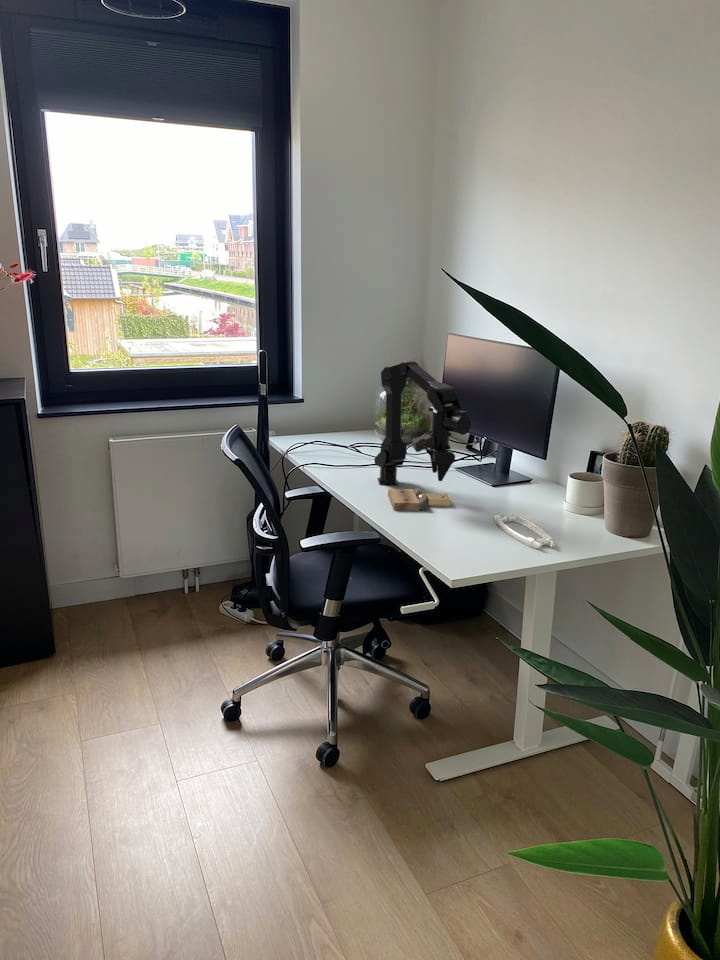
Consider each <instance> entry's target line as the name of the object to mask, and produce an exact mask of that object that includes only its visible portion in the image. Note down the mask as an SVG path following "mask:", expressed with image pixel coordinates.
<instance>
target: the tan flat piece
mask: <svg viewBox="0 0 720 960" xmlns="http://www.w3.org/2000/svg"><path fill="white" fill-rule="evenodd" d="M421 493H422V494H423V492H422V491H421V489H420V488H419V487H415V488H414V489H413V488H388V489H387V497H389V498H388V500H389V502H390V505H391V507H392V509H393V511H417V510H421V511H423V510H424V511H427V510H428V509H429V504H428V502H427V501H426V499H425V498H424V497H420V498H417V496H418V495H419V494H421Z"/></svg>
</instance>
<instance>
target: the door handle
mask: <svg viewBox="0 0 720 960" xmlns="http://www.w3.org/2000/svg"><path fill="white" fill-rule="evenodd" d="M493 518H494V519H493V520H494V522H495V524H496V525H497V526H498V527H499V528H500V530H502V531H504V533H506V534H507V535H508V536H510V537H511V538H513V539H514V540H516V541H518V542H520V543H522V544H524V545H526V546H527V547H529V548H533V549H534V550H537V549H540V548H542V546H548V547H549V548H554V547H555V542H554V539H553V538H552V537H551V535H549V534H548V533H546V531H544V530H543V529H542V528H541V527H540V526H538V525H536V524H534V523H533V522H531V521H530V520H527V519H525V518H523V517H521V516H520V515H519V514H517V513H510V514H509V515H500V514H496V515H494V517H493ZM512 522H513V523H516V524H517V523H518V524H520V525H521V526H524V527H526V528H528V530H529V529H530V530H531V531H532V532H534V533H536V534H537V535H538V536H540V537H541V538H533V537H532V536H530V537H527V536H524V535H522V534H521V533H518V532H517V531H515V530H513V529H512V528H510V527H509V526H508V525H507V524H505V523H512Z"/></svg>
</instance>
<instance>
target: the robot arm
mask: <svg viewBox="0 0 720 960" xmlns="http://www.w3.org/2000/svg"><path fill="white" fill-rule="evenodd" d="M380 378H381V382H380V383H381V387H382V388H383V391H384V392H385V394H386V395H385V396H386V397H385V398H386V401H385V405H386V406H385V408H386V409H385V412H386V413H385V415H386V416H385V437H384V439H383V441H382V442H381V443H380V452H378V454H377V455H376V456H375V457H374V465H375V466H378V467H380V469H379V477H377V482H378V484H379V485H380V486H381V485H387V486H388V485H391V486H392V485H393V486H398V485H399V481H398V478H397V474H398V473H397V472H398V466H403V465H404V461H405V459H406V457H407V454H408V452H407V445H408V444H407V442H406V441H404V440H403V438H402V434H401V433H402V432H401V431H402V394H403V392H404V390H405V388H406V387H407V382H408V379H410V380H411V381H412V382H413V383H414V384H416V385H417V386H418V387H419V388H421V390H423V391H424V392H425V394H426V398H427V400H428V401H429V402H430V404H431V405H432V406H430V407H429V408H428V409H427V410H428V412H432V414H431V415H432V417H431V428H430V429H429V430H428V434H424V435H421V436H418V437H414V438H412V439H411V442H412V446H413V448H414V449H413V450H414V451H415V452H416V453H419V452H421V451H423V450H425V452H426V453H427V454H428V455H429V457H430V464H431V469H432V470H431V471H432V473H435V474H436V473H437V480H438V481H439V482H442V481H443V480H444V478H445V476H446V474H447V473H448V471H449V469H450V468H451V466H452V465H453V464H454V462H456V455H455V454H454V453H453V451H452V450H451V445H450V437H452V433H454V434H459V435H462V436H463V435H466V434H467V433H469V431H470V430H471V427H472V422H471V419H470V417H468V413H467V411H465V410H463V408H462V405H461V402H460V400H459V398H458V394H457V391H456V389H455V388H454V387H452V386H450V385H448V384H447V383H445V382H444V383H443V382H441V381H438V380H436V379H435V378H434V377H433V376H432V375H431V374H429V373H428V372H427V371H426V370H424V369H423V368H422V367H421V366H419V363H418V362H417V361H415V360H414V361H413V360H410V361H409V360H408V361H403V362H401V363H398V364H395V365H392V366H384V367H383V369H382V370H381V374H380Z"/></svg>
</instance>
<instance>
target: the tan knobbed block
mask: <svg viewBox="0 0 720 960" xmlns="http://www.w3.org/2000/svg"><path fill="white" fill-rule="evenodd" d="M420 497H424V498H425V499H426V501H427V502H428V504H429V506H450V507H451V501H452V499H451V498H450V496H449V495H448V494H447V493H427V492H426V493H423V492H422V493H421V494H419V495H418V496H417V498H420Z"/></svg>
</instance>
